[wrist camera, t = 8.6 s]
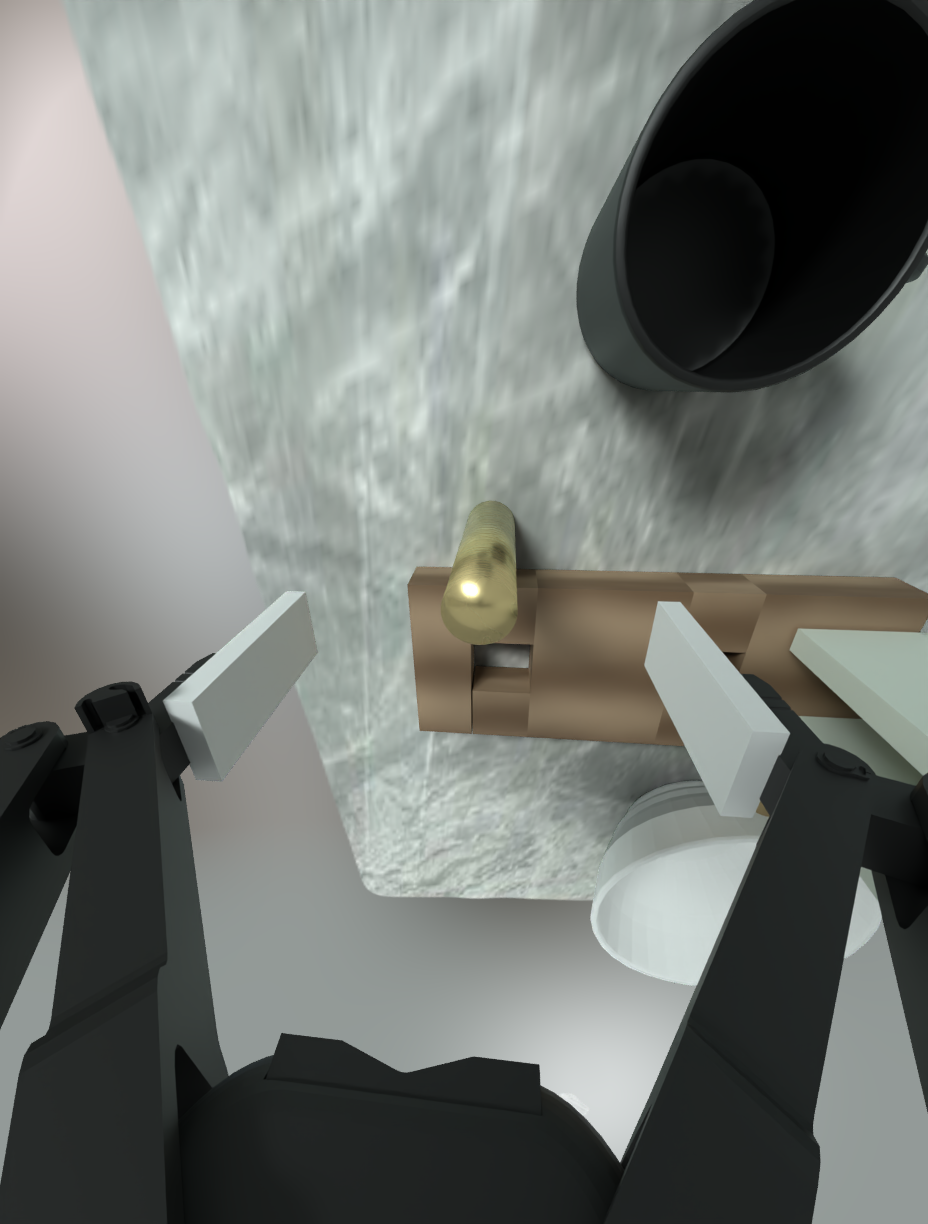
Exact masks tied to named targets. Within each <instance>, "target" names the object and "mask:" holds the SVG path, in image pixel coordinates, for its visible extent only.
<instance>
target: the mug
mask: <svg viewBox="0 0 928 1224" xmlns="http://www.w3.org/2000/svg"><path fill="white" fill-rule="evenodd" d="M927 249H928V0H754V1H752V2H751V3H749V4H748V5H746V6H745V7H743V8H742V9H740V10H739V11H737V12H736V13H735V14H733V15H732V16H731V17H730V18H729V19H728V20H727V21H726V22H724V23H723V24H722V25H721V26H720V27H719V28H718V29H717V30H715V31H714V32H713V33H712V34H711V35H710V36H709V37H708V38H707V39H706V40H705V41H704V42H703V43H702V44H701V45H700V46H699V48H698V49H697V50H696V51H695V52H694V53H693V54H692V56H691V57H690V58H689V59H688V60H687V61H686V62H685V64H684V65H683V66H682V67H681V68H680V70H679V71H678V73H677V74H676V75H675V77H674V78H673V80H672V81H671V83H670V84H669V86H668V87H667V89H666V90H665V91H664V93H663V94H662V96H661V98H660V99H659V101H658V103H657V104H656V106H655V107H654V109H653V111H652V113H651V115H650V117H649V119H648V121H647V122H646V124H645V126H644V128H643V130H642V132H641V134H640V136H639V138H638V140H637V141H636V143H635V145H634V147H633V149H632V151H631V153H630V155H629V157H628V159H627V161H626V163H625V165H624V167H623V169H622V171H621V173H620V174H619V176H618V178H617V180H616V182H615V184H614V186H613V188H612V190H611V192H610V194H609V196H608V198H607V200H606V202H605V204H604V206H603V208H602V209H601V211H600V213H599V215H598V217H597V219H596V221H595V223H594V225H593V227H592V229H591V232H590V234H589V237H588V239H587V242H586V245H585V248H584V251H583V254H582V258H581V262H580V266H579V273H578V280H577V311H578V318H579V323H580V327H581V331H582V334H583V338H584V340H585V342H586V344H587V346H588V348H589V350H590V352H591V354H592V355H593V357H594V358H595V360H596V361H597V362H598V364H599V365H600V366H601V367H602V368H603V369H604V370H605V371H606V372H607V373H608V374H610V375H611V376H612V377H614V378H615V379H617V380H618V381H620V382H622V383H624V384H626V385H629V386H631V387H634V388H639V389H643V390H653V391H693V392H742V391H750V390H757V389H761V388H764V387H768V386H772V385H775V384H778V383H781V382H784V381H786V380H789V379H791V378H793V377H796V376H798V375H800V374H803V373H805V372H806V371H808V370H810V369H812V368H813V367H815V366H817V365H818V364H820V363H822V362H823V361H825V360H827V359H828V358H830V357H831V356H833V355H834V354H835V353H837V352H838V351H839V350H841V349H842V348H843V347H845V346H846V345H847V344H849V343H850V342H851V341H853V340H854V339H855V338H856V337H857V336H858V335H859V334H860V333H861V332H862V331H864V330H865V329H866V328H867V327H868V326H869V325H870V324H871V323H872V322H873V321H874V320H875V319H876V318H877V317H878V316H879V315H880V314H881V313H882V312H883V310H884V309H885V308H886V307H887V306H888V305H889V304H890V302H891V301H892V300H893V299H894V298H895V297H896V295H897V294H898V293H899V292H900V290H901V289H902V288H903V286H904V285H905V284H906V283H908V282H911V281H914V280H916V279H917V278H919V276H920V275H921V274H922V272H923V271H924V269H925V268H926V266H927V265H928V255H927V254H926V251H927Z"/></svg>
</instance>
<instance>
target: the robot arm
mask: <svg viewBox="0 0 928 1224" xmlns="http://www.w3.org/2000/svg"><path fill="white" fill-rule="evenodd" d="M317 653H318V651H317V646H316V641H315V636H314V631H313V626H312V621H311V616H310V611H309V606H308V601H307V596H306V592H295V591H286V592H285V593H284V594H283V595H282V596H281V597H279V598H278V599H277V600H276V601H275V602H274V603H273V604H272V605H270V606H269V607H268V608H267V609H266V610H265V611H264V612H263V613H261V614H260V615H259V616H258V617H257V618H256V619H255V620H254V621H252V622H251V623H250V624H249V625H248V626H247V627H246V628H245V629H243V630H242V631H241V632H240V633H239V634H238V635H236V636H235V637H234V638H233V639H232V640H231V641H230V642H229V643H227V644H226V645H225V646H224V647H223V648H222V649H221V650H220V651H218V652H217V653H212V654H210V655H208V656H207V657H205V658H203V659H201V660H199V661H197V662H196V663H194V664H193V665H192V666H191V667H190V668H189V669H187V670H186V671H185V674H182V675H180V676H179V677H178V678H177V679H176V680H175V682H172V683H171V684H170V685H169V686H168V687H166V688H165V689H164V690H163V691H162V692H161V693H159V694H158V695H157V696H156V697H155V698H154V699H152V700H151V701H150V702H149V703H148V702H147V700H146V698H145V696H144V693H143V691H142V689H141V687H140V685H139V684H138V683H135V682H119V683H114V684H110V685H107V686H104V687H102V688H99V689H97V690H94V691H93V692H91V693H89V694H87V695H85V696H84V697H83V698H82V699H81V700H79V701H78V703H77V704H76V706H75V710H76V712H77V714H78V715H79V717H80V719H81V721H82V723H83V725H84V726H85V728H86V730H87V732H84V733H78V734H72V735H66V736H64V735H63V733H62V731H61V730H60V728H59V726H58V725H57V724H56V723H54V722H49V721H46V722H37V723H34V724H30V725H24V726H22V727H19V728H18V729H15V730H12V731H10V732H8V733H7V734H6V735H4V736H2V737H1V738H0V1029H1V1026H2V1024H3V1022H4V1020H5V1017H6V1015H7V1013H8V1011H9V1008H10V1006H11V1004H12V1002H13V999H14V997H15V995H16V992H17V990H18V988H19V986H20V984H21V981H22V979H23V977H24V975H25V972H26V970H27V968H28V966H29V963H30V961H31V959H32V956H33V954H34V952H35V950H36V947H37V945H38V943H39V940H40V938H41V936H42V934H43V931H44V929H45V927H46V925H47V923H48V920H49V918H50V916H51V914H52V911H53V909H54V907H55V904H56V902H57V900H58V898H59V896H60V893H61V891H62V889H63V887H64V884H65V882H66V880H67V877H68V875H69V873H70V880H69V888H68V895H67V904H66V910H65V918H64V926H63V933H62V941H61V948H60V956H59V964H58V971H57V979H56V986H55V994H54V1002H53V1009H52V1017H51V1022H50V1026H49V1030H48V1031H47V1033H46V1035H45V1036H43V1037H41V1038H40V1039H38V1040H36V1041H35V1042H33V1043H31V1045H30V1047H29V1048H28V1050H27V1052H26V1054H25V1055H24V1058H23V1061H22V1065H21V1069H20V1073H19V1077H18V1083H17V1089H16V1095H15V1100H14V1107H13V1112H12V1118H11V1125H10V1130H9V1136H8V1142H7V1148H6V1154H5V1160H4V1166H3V1172H2V1178H1V1184H0V1224H812V1217H813V1212H814V1206H815V1200H816V1194H817V1188H818V1180H819V1171H820V1146H819V1145H818V1143H817V1141H816V1139H815V1137H814V1135H813V1120H814V1114H815V1108H816V1103H817V1098H818V1092H819V1087H820V1082H821V1076H822V1071H823V1066H824V1061H825V1055H826V1050H827V1045H828V1039H829V1034H830V1028H831V1023H832V1018H833V1013H834V1007H835V1002H836V997H837V991H838V986H839V980H840V976H841V970H842V965H843V960H844V955H845V949H846V944H847V939H848V933H849V928H850V923H851V917H852V912H853V907H854V902H855V896H856V891H857V886H858V880H859V875H860V870H861V867H863V868H866V869H869V870H871V872H872V876H873V881H874V885H875V889H876V893H877V898H878V902H879V906H880V910H881V915H882V919H883V923H884V927H885V931H886V936H887V940H888V945H889V949H890V953H891V958H892V962H893V966H894V970H895V975H896V979H897V983H898V988H899V991H900V996H901V1000H902V1004H903V1009H904V1013H905V1018H906V1022H907V1026H908V1030H909V1035H910V1039H911V1043H912V1048H913V1052H914V1056H915V1060H916V1064H917V1069H918V1073H919V1077H920V1082H921V1086H922V1090H923V1095H924V1099H925V1103H926V1107H927V1112H928V773H927V774H925V775H924V776H922V778H921V779H920V781H919V782H918V784H917V785H916V786H915V785H911V784H907V783H903V782H900V781H896V780H892V779H888V778H884V777H880V776H877V775H876V774H875V772H874V771H873V770H872V769H871V767H870V766H869V765H868V764H867V763H865V762H864V761H863V760H861V759H860V758H859V757H857V756H856V755H854V754H852V753H850V752H848V751H846V750H844V749H842V748H839V747H836V746H833V745H830V744H824V743H823V742H822V741H821V740H820V739H819V738H818V737H817V736H816V735H815V734H814V733H813V731H812V730H811V729H810V728H809V727H808V726H807V725H806V724H805V723H804V721H803V720H802V719H801V718H800V717H799V716H798V715H797V714H796V713H795V712H794V710H791V707H790V706H789V705H788V704H787V703H786V702H785V701H784V700H782V697H781V696H780V695H779V694H778V693H777V692H776V691H775V690H774V688H773V687H772V686H771V685H769V684H768V683H766V682H765V681H763V680H762V679H760V678H758V677H757V676H755V675H754V674H740V673H739V672H738V670H737V669H736V668H735V667H734V666H733V664H732V663H731V662H730V661H729V660H728V658H727V657H726V656H725V655H724V654H723V652H722V651H721V650H720V649H719V648H718V646H717V645H716V644H715V643H714V642H713V640H712V639H711V638H710V637H709V636H708V635H707V633H706V632H705V631H704V630H703V629H702V627H701V626H700V625H699V624H698V623H697V621H696V620H695V619H694V618H693V617H692V615H691V614H690V613H689V612H688V611H687V609H686V608H685V607H684V606H683V605H682V603H681V602H663V601H658V604H657V608H656V613H655V618H654V622H653V627H652V632H651V636H650V641H649V645H648V650H647V655H646V659H645V664H644V666H645V668H646V670H647V672H648V674H649V676H650V678H651V680H652V682H653V684H654V686H655V688H656V690H657V692H658V694H659V696H660V698H661V700H662V702H663V704H664V706H665V708H666V710H667V712H668V714H669V715H670V717H671V719H672V721H673V723H674V725H675V727H676V729H677V731H678V733H679V735H680V737H681V739H682V741H683V743H684V745H685V747H686V749H687V751H688V753H689V755H690V757H691V759H692V761H693V763H694V765H695V767H696V769H697V771H698V773H699V775H700V777H701V779H702V781H703V783H704V785H705V787H706V789H707V791H708V793H709V795H710V797H711V798H712V800H713V802H714V804H715V806H716V808H717V810H718V812H719V814H720V816H729V817H744V818H753V816H754V814H755V812H756V810H757V807H758V805H759V803H760V801H761V803H762V804H763V806H764V807H765V809H766V811H767V812H768V814H769V815H770V816H769V818H768V820H767V822H766V825H765V827H764V829H763V831H762V833H761V835H760V837H759V840H758V842H757V844H756V848H755V850H754V853H753V855H752V857H751V860H750V862H749V864H748V867H747V869H746V871H745V874H744V876H743V879H742V881H741V883H740V886H739V888H738V890H737V893H736V895H735V897H734V900H733V902H732V904H731V907H730V909H729V911H728V914H727V916H726V918H725V921H724V923H723V925H722V928H721V930H720V932H719V935H718V937H717V939H716V942H715V944H714V947H713V949H712V951H711V954H710V956H709V958H708V961H707V963H706V965H705V968H704V970H703V972H702V975H701V977H700V979H699V982H698V984H697V986H696V989H695V991H694V993H693V996H692V998H691V1000H690V1003H689V1005H688V1007H687V1010H686V1012H685V1015H684V1017H683V1019H682V1022H681V1024H680V1026H679V1029H678V1031H677V1033H676V1036H675V1038H674V1040H673V1043H672V1045H671V1047H670V1050H669V1052H668V1055H667V1057H666V1059H665V1061H664V1064H663V1066H662V1068H661V1071H660V1073H659V1076H658V1078H657V1080H656V1082H655V1085H654V1087H653V1089H652V1092H651V1094H650V1096H649V1099H648V1101H647V1103H646V1105H645V1108H644V1110H643V1112H642V1114H641V1117H640V1119H639V1121H638V1123H637V1126H636V1128H635V1130H634V1132H633V1134H632V1137H631V1139H630V1142H629V1144H628V1146H627V1149H626V1151H625V1153H624V1155H623V1158H622V1160H621V1162H619V1161H618V1159H617V1158H616V1156H615V1155H614V1154H613V1152H612V1151H611V1149H610V1148H609V1146H608V1145H607V1144H606V1142H605V1141H604V1139H603V1138H602V1137H601V1135H600V1134H599V1133H598V1132H597V1131H596V1130H595V1129H594V1127H593V1126H592V1125H591V1124H590V1123H589V1122H588V1121H587V1119H585V1117H583V1116H582V1115H581V1114H580V1113H579V1112H578V1111H577V1110H576V1109H575V1108H574V1107H573V1106H572V1105H571V1104H569V1103H568V1102H566V1101H565V1100H564V1099H562V1098H561V1097H559V1096H558V1095H557V1094H555V1093H554V1092H552V1091H550V1090H548V1089H546V1088H544V1087H542V1086H541V1085H540V1070H539V1065H538V1064H530V1063H522V1062H514V1061H505V1060H497V1059H489V1058H481V1057H470V1058H466V1059H462V1060H458V1061H454V1062H450V1063H445V1064H442V1065H437V1066H433V1067H429V1068H425V1069H421V1070H417V1071H413V1072H408V1073H404V1072H399V1071H397V1070H395V1069H393V1068H391V1067H390V1066H388V1065H386V1064H384V1063H382V1062H380V1061H379V1060H377V1059H375V1058H373V1057H371V1056H369V1055H368V1054H366V1053H364V1052H362V1051H360V1050H359V1049H357V1048H355V1047H353V1046H351V1045H349V1044H348V1043H345V1042H344V1041H342V1040H333V1039H325V1038H317V1037H309V1036H301V1035H292V1034H285V1033H281V1036H280V1039H279V1042H278V1045H277V1047H276V1050H275V1053H274V1055H272V1056H268V1057H265V1058H263V1059H261V1060H258V1061H256V1062H253V1063H251V1064H249V1065H247V1066H245V1067H243V1068H241V1069H240V1070H238V1071H236V1072H234V1073H233V1074H231V1075H230V1076H228V1072H227V1068H226V1065H225V1061H224V1058H223V1055H222V1052H221V1049H220V1045H219V1041H218V1035H217V1029H216V1022H215V1015H214V1007H213V999H212V992H211V984H210V977H209V970H208V963H207V954H206V947H205V939H204V932H203V924H202V917H201V909H200V902H199V895H198V887H197V880H196V873H195V865H194V857H193V850H192V842H191V835H190V827H189V820H188V812H187V805H186V798H185V790H184V784H183V781H182V779H181V777H180V774H181V773H182V772H183V771H184V770H185V768H186V767H187V766H188V765H189V764H190V767H191V769H192V771H193V774H194V776H195V778H196V780H207V781H223V780H224V778H225V777H226V776H227V774H228V773H229V771H230V770H231V769H232V767H233V766H234V765H235V763H236V762H237V761H238V759H239V758H240V757H241V755H242V754H243V753H244V751H245V750H246V749H247V747H248V746H249V744H250V743H251V742H252V740H253V739H254V738H255V736H256V735H257V734H258V732H259V731H260V729H261V728H262V727H263V725H264V724H265V723H266V722H267V720H268V719H269V717H270V716H271V715H272V713H273V712H274V711H275V709H276V708H277V707H278V705H279V704H280V703H281V701H282V700H283V698H284V697H285V696H286V694H287V693H288V692H289V690H290V689H291V688H292V686H293V685H294V684H295V682H296V681H297V680H298V678H299V677H300V676H301V674H302V673H303V672H304V670H305V669H306V667H307V666H308V665H309V663H310V662H311V661H312V659H313V658H314V657H315V655H316V654H317ZM70 871H71V872H70Z"/></svg>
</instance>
